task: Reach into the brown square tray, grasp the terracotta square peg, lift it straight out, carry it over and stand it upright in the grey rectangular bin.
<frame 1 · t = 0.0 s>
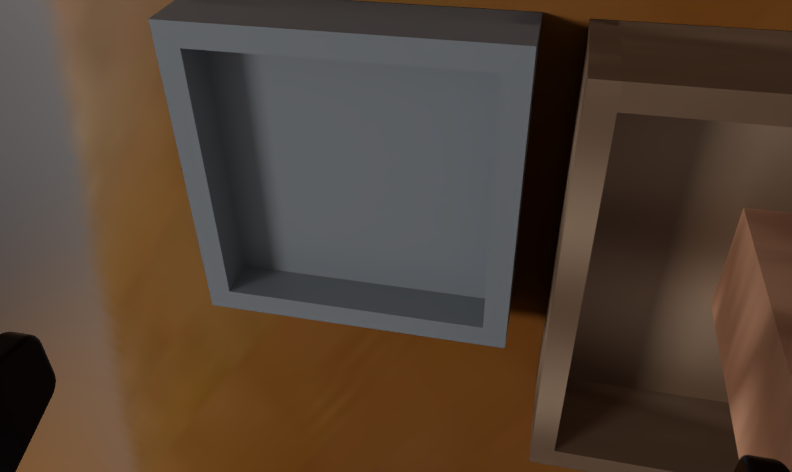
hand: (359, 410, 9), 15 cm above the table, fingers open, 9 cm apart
brown square tray: (790, 257, 23), on the table
grey rectangular bin: (364, 159, 24), on the table
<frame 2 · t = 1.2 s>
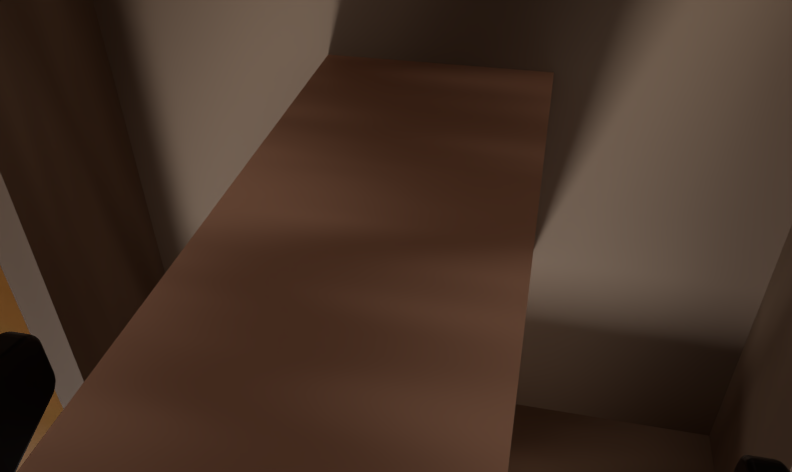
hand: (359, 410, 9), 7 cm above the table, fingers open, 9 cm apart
brown square tray: (439, 149, 14), on the table
terracotta peg: (435, 161, 14), resting on brown square tray
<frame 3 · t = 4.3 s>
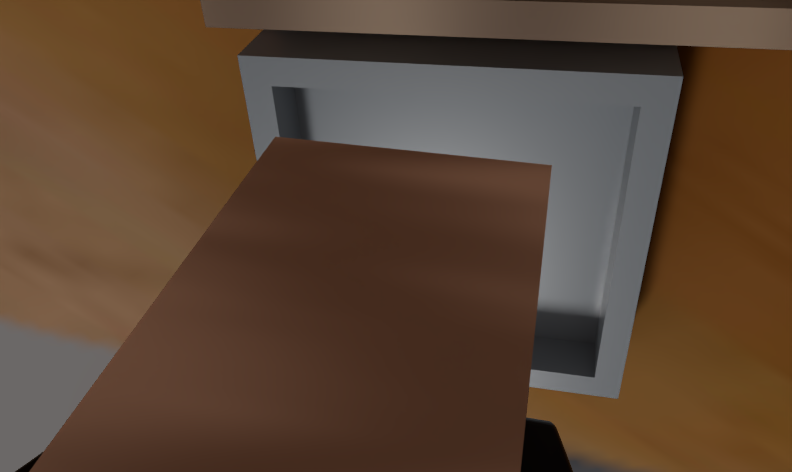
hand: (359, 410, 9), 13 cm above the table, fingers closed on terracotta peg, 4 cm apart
grey rectangular bin: (460, 196, 22), on the table
terracotta peg: (408, 260, 11), point 10 cm above the table, touching gripper
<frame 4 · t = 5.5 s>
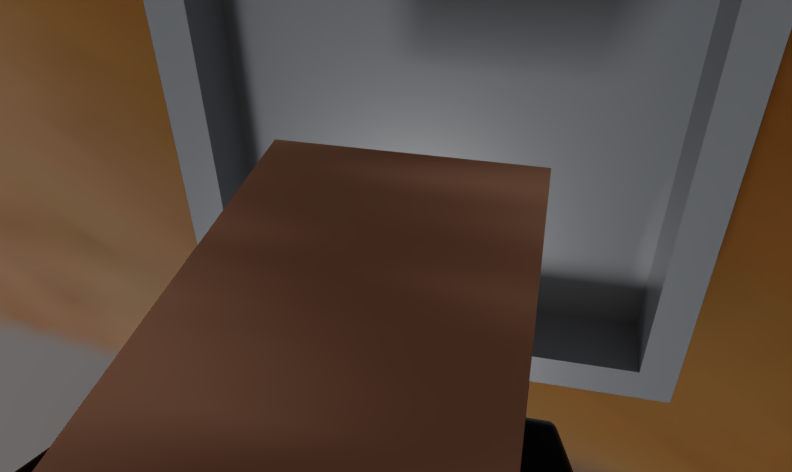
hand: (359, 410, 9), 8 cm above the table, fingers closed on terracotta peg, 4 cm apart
grey rectangular bin: (455, 110, 16), on the table
terracotta peg: (408, 262, 11), point 5 cm above the table, touching gripper
when the fingers open (6 cm above the table, at t = 6.3 s): terracotta peg drops 2 cm, resting on grey rectangular bin.
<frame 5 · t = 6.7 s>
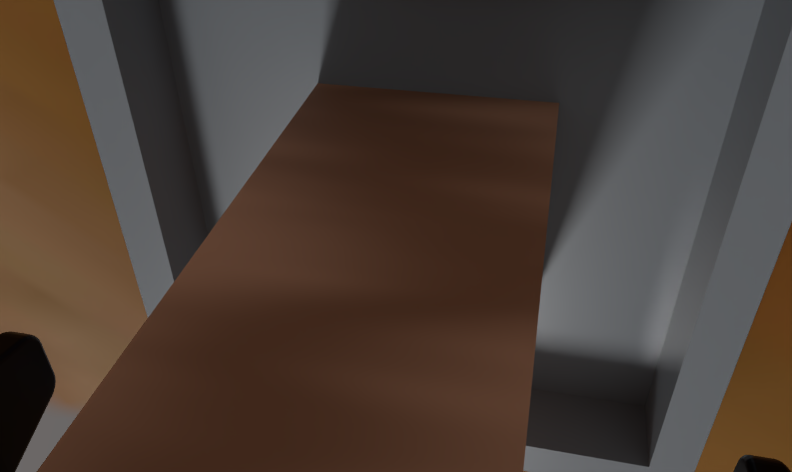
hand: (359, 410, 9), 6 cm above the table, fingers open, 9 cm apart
grey rectangular bin: (439, 167, 14), on the table
terracotta peg: (433, 195, 13), point 1 cm above the table, touching grey rectangular bin
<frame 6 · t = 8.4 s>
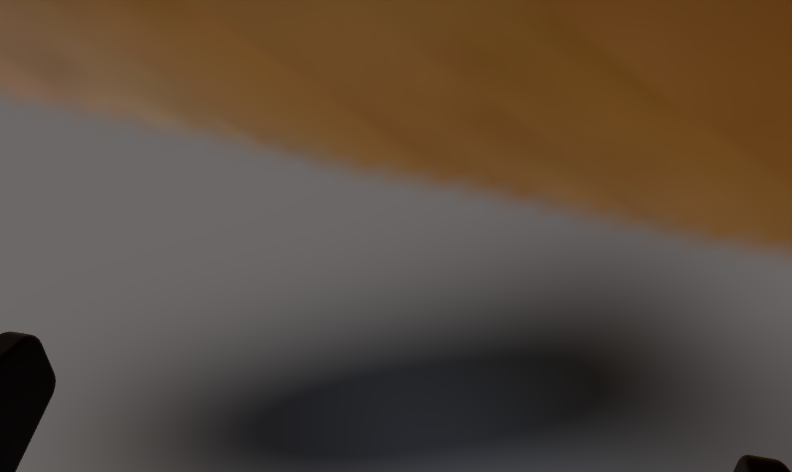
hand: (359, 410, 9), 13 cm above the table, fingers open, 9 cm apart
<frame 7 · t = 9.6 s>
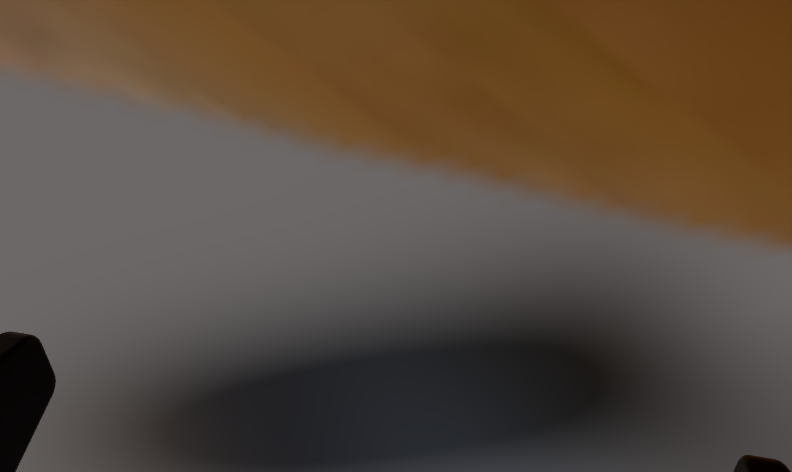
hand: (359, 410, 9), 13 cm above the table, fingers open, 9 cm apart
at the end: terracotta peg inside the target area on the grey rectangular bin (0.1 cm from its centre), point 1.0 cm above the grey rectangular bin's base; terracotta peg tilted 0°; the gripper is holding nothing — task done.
